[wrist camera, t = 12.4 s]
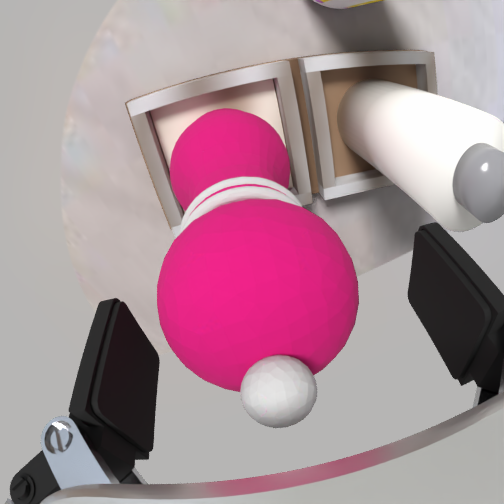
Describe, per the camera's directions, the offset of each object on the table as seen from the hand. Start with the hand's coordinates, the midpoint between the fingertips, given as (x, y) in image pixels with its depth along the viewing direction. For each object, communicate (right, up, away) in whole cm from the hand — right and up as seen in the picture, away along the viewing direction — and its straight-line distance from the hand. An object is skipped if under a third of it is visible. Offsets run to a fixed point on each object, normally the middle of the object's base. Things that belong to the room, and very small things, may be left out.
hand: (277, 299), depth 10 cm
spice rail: (+3, +11, +14) cm, 18 cm away
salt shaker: (+9, +12, +13) cm, 20 cm away
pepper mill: (-3, +9, +13) cm, 16 cm away
